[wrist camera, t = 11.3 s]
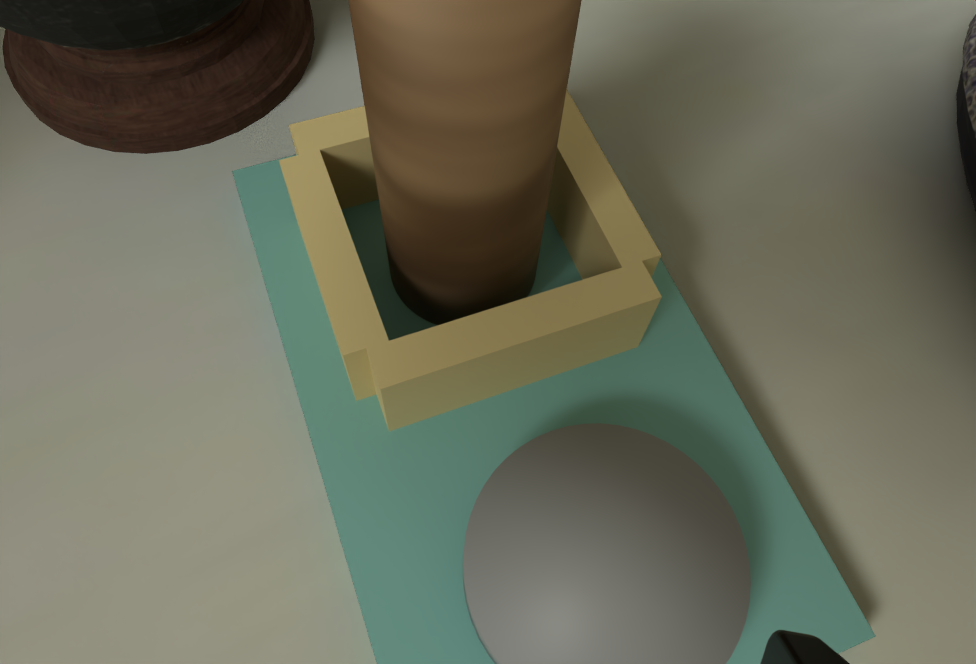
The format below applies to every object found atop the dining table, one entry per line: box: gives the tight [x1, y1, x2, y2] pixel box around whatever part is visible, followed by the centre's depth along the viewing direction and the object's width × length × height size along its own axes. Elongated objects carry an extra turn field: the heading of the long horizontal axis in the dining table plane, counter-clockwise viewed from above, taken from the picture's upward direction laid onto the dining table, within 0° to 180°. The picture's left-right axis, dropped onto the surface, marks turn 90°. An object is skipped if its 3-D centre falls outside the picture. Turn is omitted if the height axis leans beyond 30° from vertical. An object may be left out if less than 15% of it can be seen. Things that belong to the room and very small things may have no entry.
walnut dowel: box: [349, 0, 581, 325], centre depth 18 cm, size 5×5×13 cm
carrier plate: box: [232, 90, 875, 664], centre depth 22 cm, size 20×12×4 cm, turn 21°
